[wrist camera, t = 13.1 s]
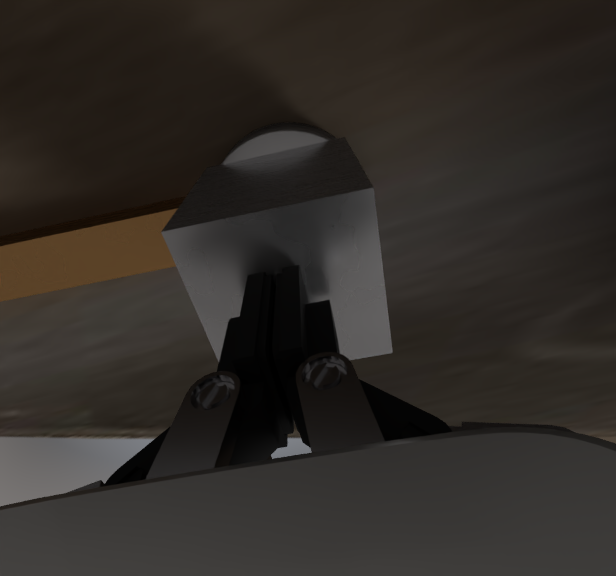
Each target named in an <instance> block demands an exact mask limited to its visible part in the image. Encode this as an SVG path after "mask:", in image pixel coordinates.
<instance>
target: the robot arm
mask: <svg viewBox="0 0 616 576" xmlns="http://www.w3.org/2000/svg"><path fill="white" fill-rule="evenodd" d="M294 421H295V424H296V427H297V430H298V432H299V433H300V436H301V439H302V441H303V443H305V444H306V445H307V446H309V447H310V448H311V451H312V453H307V454H300V455H294V456H288V457H281V458H275V459H272V457H271V454H272V453H273V452H274V451H275V450H276V449H277V448H281V447H287V434H291V433H293V431H294ZM0 576H616V444H615V443H612V442H609V441H606V440H603V439H600V438H596V437H592V436H588V435H584V434H579V433H576V432H573V431H571V430H569V429H567V428H565V427H560V426H554V425H538V424H511V423H485V422H462V426H448V425H447V424H446V423H445V422H443V421H442V420H440V419H439V418H437V417H435V416H433V415H431V414H429V413H427V412H425V411H423V410H421V409H419V408H417V407H415V406H413V405H411V404H409V403H407V402H405V401H403V400H400V399H398V398H396V397H394V396H392V395H390V394H388V393H386V392H384V391H382V390H380V389H378V388H376V387H374V386H372V385H370V384H368V383H366V382H364V381H362V380H360V379H358V376H357V374H356V371H355V369H354V367H353V364H352V363H351V361H350V360H349V359H348V358H347V357H345V356H344V355H342V354H340V350H339V344H338V338H337V333H336V327H335V322H334V317H333V313H332V308H331V303H330V300H324V301H319V302H313V303H309V300H308V296H307V292H306V288H305V284H304V280H303V276H302V272H301V268H300V265H296V266H291V267H286V268H282V273H278V274H277V277H276V284H275V281H274V278H273V275H268V276H267V274H266V272H260V273H255V274H250V275H248V276H247V281H246V286H245V291H244V296H243V301H242V307H241V312H240V317H235V318H231V319H229V321H228V325H227V330H226V334H225V338H224V343H223V347H222V351H221V356H220V360H219V364H218V369H217V372H213V373H210V374H208V375H205V376H203V377H202V378H200V379H199V380H197V381H196V382H195V383H194V384H193V385H192V386H191V387H190V388H189V390H188V392H187V393H186V395H185V397H184V399H183V401H182V403H181V406H180V408H179V410H178V412H177V414H176V416H175V418H174V420H173V422H172V424H171V426H170V427H169V428H168V429H167V430H165V431H164V432H163V433H162V434H160V435H159V436H158V437H157V438H156V439H154V440H153V441H152V442H151V443H149V444H148V445H147V446H146V447H145V448H143V449H142V450H141V451H140V452H138V453H137V454H136V455H135V456H134V457H132V458H131V459H130V460H129V461H127V462H126V463H125V464H124V465H123V466H121V467H120V468H119V469H118V470H117V471H116V472H115V473H114V474H113V475H112V476H111V477H110V478H109V479H108V480H107V482H106V483H105V484H104V483H103V482H102V481H101V480H100V481H97V482H94V483H92V484H89V485H86V486H84V487H81V488H78V489H76V490H73V491H70V492H68V493H64V494H59V495H54V496H49V497H42V498H37V499H32V500H28V501H23V502H18V503H14V504H9V505H4V506H1V507H0Z"/></svg>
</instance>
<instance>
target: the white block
mask: <svg viewBox="0 0 616 576" xmlns="http://www.w3.org/2000/svg"><path fill="white" fill-rule="evenodd" d="M161 233H162V235H163V237H164V240H165V242H166V244H167V246H168V249H169V251H170V253H171V255H172V258H173V260H174V262H175V264H176V267H177V269H178V271H179V273H180V276H181V278H182V280H183V282H184V285H185V287H186V289H187V291H188V294H189V296H190V298H191V300H192V303H193V305H194V307H195V309H196V312H197V314H198V316H199V318H200V321H201V323H202V325H203V327H204V330H205V332H206V334H207V336H208V339H209V341H210V343H211V345H212V348H213V350H214V352H215V354H216V357H217V359H218V361H219V360H220V356H221V351H222V347H223V343H224V338H225V334H226V330H227V325H228V321H229V319H231V318H235V317H240V312H241V307H242V301H243V296H244V291H245V286H246V281H247V276H248V275H250V274H255V273H260V272H266V274H267V276H268V275H273V278H274V281H275V284H276V277H277V274H278V273H282V268H286V267H291V266H296V265H300V268H301V272H302V276H303V280H304V284H305V288H306V292H307V296H308V300H309V303H313V302H319V301H324V300H330V303H331V308H332V313H333V317H334V322H335V327H336V333H337V338H338V344H339V350H340V354H342V355H344V356H345V357H347V358H348V359H349V360H354V359H360V358H365V357H371V356H377V355H383V354H388V353H393V352H392V343H391V335H390V326H389V317H388V309H387V300H386V291H385V283H384V274H383V265H382V257H381V248H380V239H379V231H378V222H377V213H376V205H375V196H374V188H373V186H372V184H371V182H370V180H369V179H368V177H367V175H366V173H365V172H364V170H363V168H362V166H361V165H360V163H359V161H358V159H357V158H356V156H355V154H354V152H353V151H352V149H351V147H350V145H349V144H348V142H347V140H346V138H345V137H343V138H338V139H334V140H329V141H325V142H320V143H316V144H311V145H307V146H302V147H298V148H293V149H289V150H284V151H280V152H275V153H271V154H266V155H262V156H257V157H252V158H248V159H243V160H239V161H234V162H230V163H225V164H221V165H216V166H212V167H207V168H206V170H205V171H204V172H203V174H202V175H201V177H200V178H199V179H198V181H197V182H196V184H195V185H194V186H193V188H192V189H191V191H190V192H189V193H188V195H187V196H186V198H185V199H184V200H183V202H182V203H181V205H180V206H179V208H178V209H177V210H176V212H175V213H174V215H173V216H172V217H171V219H170V220H169V222H168V223H167V224H166V226H165V227H164V229H163V230H162V231H161Z"/></svg>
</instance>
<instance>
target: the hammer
mask: <svg viewBox="0 0 616 576" xmlns="http://www.w3.org/2000/svg"><path fill="white" fill-rule="evenodd" d="M334 139H337V138H335V137H334V136H333V135H331V134H329V133H328V132H326V131H324V130H322V129H319V128H317V127H315V126H311V125H307V124H303V123H295V122H283V123H276V124H271V125H268V126H264V127H261V128H259V129H257V130H255V131H253V132H251V133H250V134H248V135H247V136H245V137H243V138H242V139H241V140H240V141H239V142H238V143H237V144H236V145H235V146H234V147H233V148H232V149H231V150H230V152H229V153H228V154H227V156H226V158H225V159H224V161H223V162H222V164H225V163H230V162H234V161H239V160H243V159H248V158H252V157H257V156H262V155H266V154H271V153H275V152H280V151H284V150H289V149H293V148H298V147H302V146H307V145H311V144H316V143H320V142H325V141H329V140H334ZM185 198H186V196H185V197H181V198H176V199H171V200H167V201H162V202H158V203H153V204H148V205H144V206H139V207H134V208H130V209H125V210H121V211H116V212H111V213H107V214H102V215H97V216H93V217H88V218H84V219H79V220H74V221H70V222H65V223H60V224H56V225H51V226H47V227H42V228H37V229H33V230H28V231H24V232H19V233H14V234H10V235H5V236H0V302H1V301H6V300H11V299H16V298H21V297H26V296H31V295H36V294H41V293H46V292H51V291H56V290H60V289H65V288H70V287H75V286H80V285H85V284H90V283H95V282H100V281H105V280H110V279H115V278H120V277H125V276H130V275H135V274H140V273H145V272H150V271H155V270H160V269H165V268H170V267H175V266H176V264H175V262H174V260H173V258H172V255H171V253H170V251H169V249H168V246H167V244H166V242H165V240H164V237H163V235H162V233H161V231H162V230H163V229H164V227H165V226H166V224H167V223H168V222H169V220H170V219H171V217H172V216H173V215H174V213H175V212H176V210H177V209H178V208H179V206H180V205H181V203H182V202H183V200H184V199H185Z"/></svg>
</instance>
